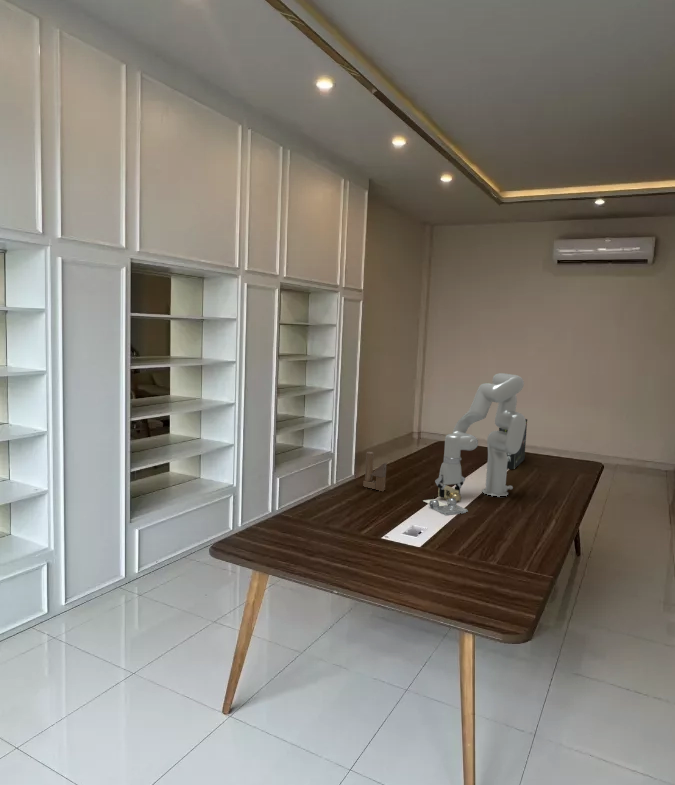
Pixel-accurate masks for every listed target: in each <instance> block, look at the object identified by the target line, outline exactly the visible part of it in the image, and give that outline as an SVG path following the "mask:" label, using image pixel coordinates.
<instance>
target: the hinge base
mask: <svg viewBox="0 0 675 785" xmlns="http://www.w3.org/2000/svg"><path fill="white" fill-rule="evenodd" d="M430 500H431V501H430V504H428V505H429V507H430V509H432V510H434V511H437V513H440V514H441V515H444V516H451V515H460V513H461V514H467V513H466V512H468V513H469V510H468V509H467V508H464V507H462V506H460V505H458V504H457V502H456V499H455V498H449V499H447V500H446V505H447V506H440V507H439V502H438V501H439V500H438V499H436V500H433V499H430Z"/></svg>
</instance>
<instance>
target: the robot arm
mask: <svg viewBox="0 0 675 785" xmlns="http://www.w3.org/2000/svg"><path fill="white" fill-rule="evenodd" d="M524 382H525V381H524V379H523V377H521V376H520V375H517V374H510V373H506V372H505V373H503V372H499V373H496V374H494V375H493V377H492V383H488V382H487V383H486V382H485V383H481V384H480V385H479V386H478V389H477V390H476V392H475V394H474V398H473V400H472V403H471V405H470V407H469V409H468V411H467V412H466V413H465V414H463V415H462V417H460V418H459V420H458V421H457V422H455V423H456V424H455V425H454V428H453V430H452V432H451V433H449V434H446V435H445V436H444V438H445V439H444V452H443V453H444V454H443V462H442V463H441V466H440V469H439V475H438V478H436V479H435V480H434V482H435V484H436V486H437V487H438V490H439V496H440V497H439V496H438V497H439V498H441V497H442V498H441V499H443V498H444V494H445V490H444V488H445V486H450V485H455V486H454V489H456V490H459V494H460V495H461V488H462V486H463V484H464V483H465V481H466V478H465V477H464V476H463V475H462V466H461V464H462V463H461V461H462V457H461V451H468V452H469V451H473V450H475V449H476V448H478V445H479V440H478V438H477V437H476V436H475V435H473V434H470V433H467V431H468V429H469V428H470V427H471V425H473V424H475V423H477V422H480V421H482V420H484V419H486V417H487V416H488V414H489V410H490V408H491V405H492V403H496V404H497V408H496V413H495V417H494V424H495V426H496V427H497V428H498V429H499V428H502V429H506V430H508V432H507V433H506V432H502V431H499V430H493V431H491V432H490V433H489V434H488V436H487V438H486V444H487V465H486V477H485V478H486V479H485V488H482V490H481V492H483V493H484V494H483V493H482V494H483V495H485V494H487V495H486V496H488V495H491V496H490V497H493V496H497V497H496V498H501V497H500V496H506V497H508V496H509V492H508V490H510V491H511V490H513V488H514V487H513V485H507V471H508V469H507V463H508V458H507V453H508V454H515V453H517V452H518V451H519V449H520V447H521V444H522V440H523V436H524V431H525V427H526V420H525V419H526V418H525V415H524V414H523V413H521V412H519V411H516V410H517V403H518V398H517V394H519V393H520V392H521V391H522V390H523V388H524V385H525V383H524ZM507 495H508V496H507Z"/></svg>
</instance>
